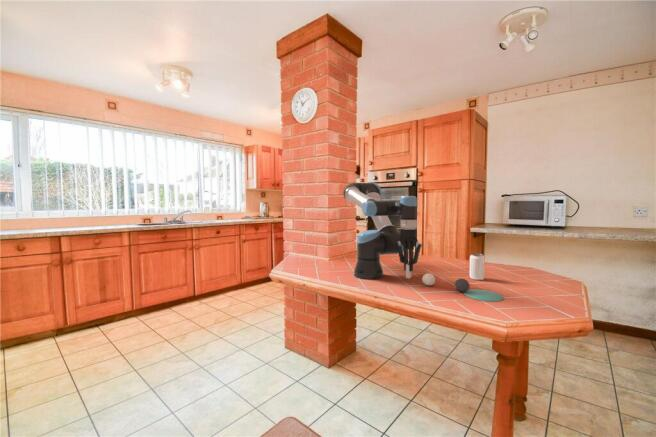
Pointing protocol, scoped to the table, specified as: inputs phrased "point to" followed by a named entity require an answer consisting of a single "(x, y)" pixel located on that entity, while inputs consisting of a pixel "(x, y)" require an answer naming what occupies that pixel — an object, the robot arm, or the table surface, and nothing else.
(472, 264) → the can
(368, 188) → the robot arm
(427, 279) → the cue ball
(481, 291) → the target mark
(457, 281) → the object ball
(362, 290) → the table surface
